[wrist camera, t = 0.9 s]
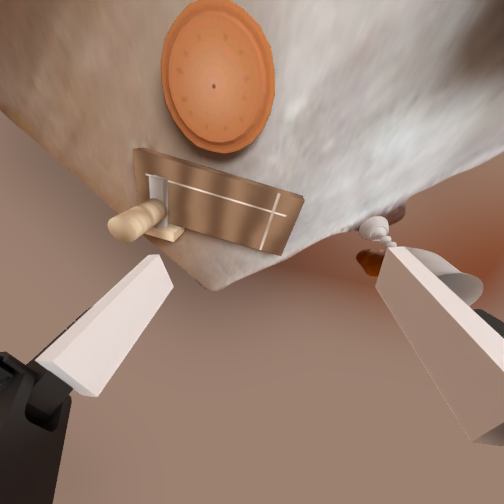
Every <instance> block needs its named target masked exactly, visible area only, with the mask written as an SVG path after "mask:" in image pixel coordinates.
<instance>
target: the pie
mask: <svg viewBox="0 0 504 504" xmlns="http://www.w3.org/2000/svg"><path fill="white" fill-rule="evenodd" d="M161 77H162V87H163V91H164V96H165V101H166V104H167V106H168V109H169V111H170V113H171V115H172V117H173V119H174V121H175V123H176V124H177V125H178V127H179V128H180V130H181V131H182V132H183V134H184V135H185V136H186V137H187V138H188V139H189V140H190V141H191V142H193V143H194V144H195V145H196V146H197V147H200V148H203V149H206V150H209V151H212V152H218V153H224V154H226V153H231V152H235V151H239V150H241V149H242V148H244V147H246V146H248V145H250V144H251V143H252V142H253V141H254V140H255V139H256V138H257V137H258V136H259V134H260V133H261V132H262V131H263V129H264V127H265V125H266V122H267V120H268V118H269V116H270V113H271V108H272V104H273V100H274V96H275V70H274V64H273V58H272V52H271V47H270V45H269V43H268V41H267V39H266V37H265V35H264V33H263V31H262V29H261V27H260V25H259V24H258V23H257V22H256V21H255V20H254V19H253V18H252V17H251V16H250V15H249V14H248V13H247V12H246V11H245V10H244V9H243V8H241V7H239V6H238V5H236V4H234V3H233V2H231V1H229V0H198V1H195V2H193V3H191V4H189V5H188V6H187V7H186V8H185V9H184V10H183V11H182V13H181V14H180V15H179V16H178V17H177V19H176V20H175V21H174V23H173V25H172V27H171V28H170V30H169V32H168V34H167V36H166V38H165V41H164V46H163V52H162V58H161Z"/></svg>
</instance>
